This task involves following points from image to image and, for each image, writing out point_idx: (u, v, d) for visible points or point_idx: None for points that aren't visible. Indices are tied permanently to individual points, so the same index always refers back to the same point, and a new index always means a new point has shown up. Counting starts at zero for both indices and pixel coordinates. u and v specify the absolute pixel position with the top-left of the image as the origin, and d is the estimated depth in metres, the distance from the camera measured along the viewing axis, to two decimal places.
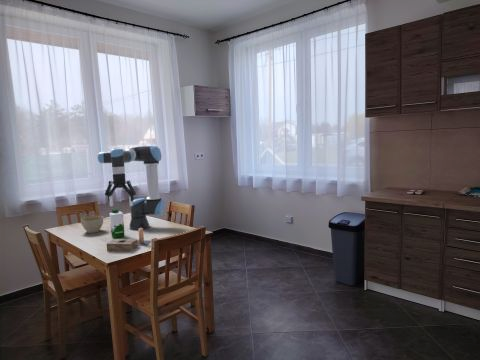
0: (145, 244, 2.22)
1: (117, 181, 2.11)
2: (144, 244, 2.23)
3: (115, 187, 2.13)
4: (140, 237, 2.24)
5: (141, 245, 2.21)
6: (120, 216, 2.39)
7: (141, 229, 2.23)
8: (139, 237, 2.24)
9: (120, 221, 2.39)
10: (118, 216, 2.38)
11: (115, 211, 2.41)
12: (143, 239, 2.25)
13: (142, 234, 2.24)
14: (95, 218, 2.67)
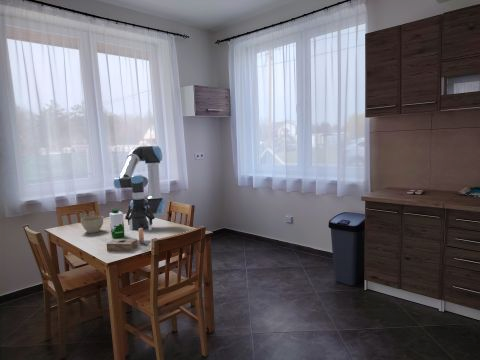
0: (145, 244, 2.22)
1: (137, 206, 2.21)
2: (144, 244, 2.23)
3: (135, 211, 2.23)
4: (140, 237, 2.24)
5: (141, 245, 2.21)
6: (120, 216, 2.39)
7: (141, 229, 2.23)
8: (139, 237, 2.24)
9: (120, 221, 2.39)
10: (118, 216, 2.38)
11: (115, 211, 2.41)
12: (143, 239, 2.25)
13: (142, 234, 2.24)
14: (95, 218, 2.67)
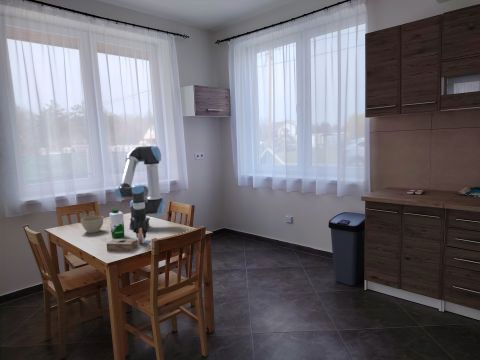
0: (145, 244, 2.22)
1: None
2: (144, 244, 2.23)
3: (138, 222, 2.23)
4: (140, 237, 2.24)
5: (141, 245, 2.21)
6: (120, 216, 2.39)
7: (141, 229, 2.23)
8: (139, 237, 2.24)
9: (120, 221, 2.39)
10: (118, 216, 2.38)
11: (115, 211, 2.41)
12: None
13: None
14: (95, 218, 2.67)
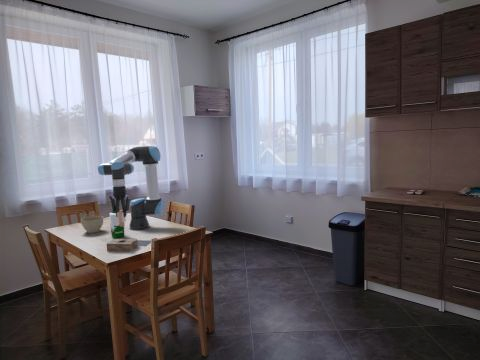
0: (145, 244, 2.22)
1: None
2: (144, 244, 2.23)
3: (118, 200, 2.12)
4: (120, 219, 2.13)
5: (141, 245, 2.21)
6: None
7: (121, 211, 2.12)
8: (119, 219, 2.13)
9: None
10: None
11: None
12: (123, 222, 2.14)
13: None
14: (95, 218, 2.67)
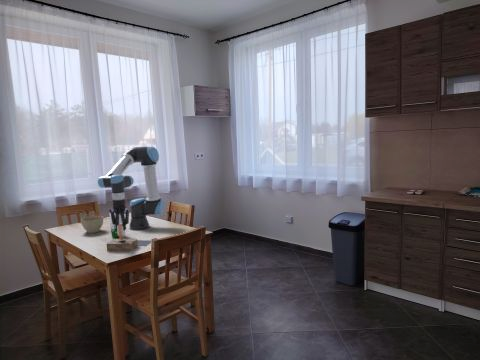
0: (145, 244, 2.22)
1: None
2: (144, 244, 2.23)
3: (117, 213, 2.13)
4: (120, 233, 2.13)
5: (141, 245, 2.21)
6: (120, 216, 2.39)
7: (121, 224, 2.13)
8: (119, 233, 2.13)
9: (120, 221, 2.39)
10: None
11: None
12: None
13: None
14: (95, 218, 2.67)
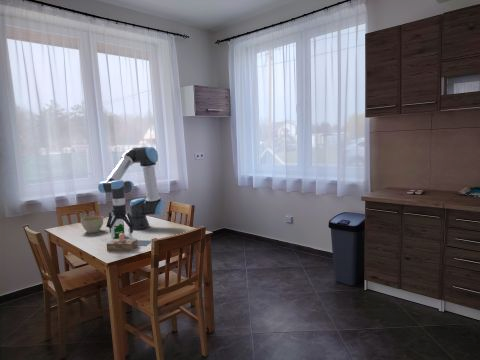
0: (145, 244, 2.22)
1: (117, 212, 2.12)
2: (144, 244, 2.23)
3: (116, 218, 2.14)
4: None
5: (141, 245, 2.21)
6: None
7: (122, 234, 2.14)
8: None
9: (120, 221, 2.39)
10: None
11: None
12: None
13: (123, 239, 2.14)
14: (95, 218, 2.67)
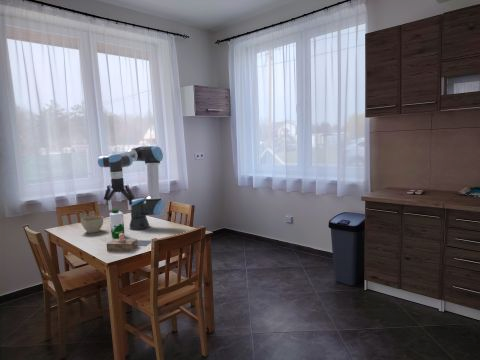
0: (145, 244, 2.22)
1: (115, 185, 2.15)
2: (144, 244, 2.23)
3: (114, 191, 2.17)
4: None
5: (141, 245, 2.21)
6: (120, 216, 2.39)
7: (122, 234, 2.14)
8: None
9: (120, 221, 2.39)
10: (118, 216, 2.38)
11: (115, 211, 2.41)
12: None
13: (123, 239, 2.14)
14: (95, 218, 2.67)
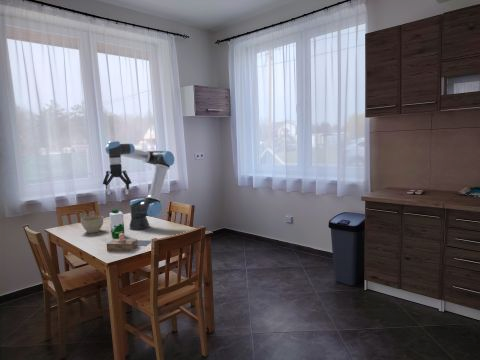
0: (145, 244, 2.22)
1: (114, 171, 2.29)
2: (144, 244, 2.23)
3: (112, 176, 2.31)
4: None
5: (141, 245, 2.21)
6: (120, 216, 2.39)
7: (122, 234, 2.14)
8: None
9: (120, 221, 2.39)
10: (118, 216, 2.38)
11: (115, 211, 2.41)
12: None
13: (123, 239, 2.14)
14: (95, 218, 2.67)
